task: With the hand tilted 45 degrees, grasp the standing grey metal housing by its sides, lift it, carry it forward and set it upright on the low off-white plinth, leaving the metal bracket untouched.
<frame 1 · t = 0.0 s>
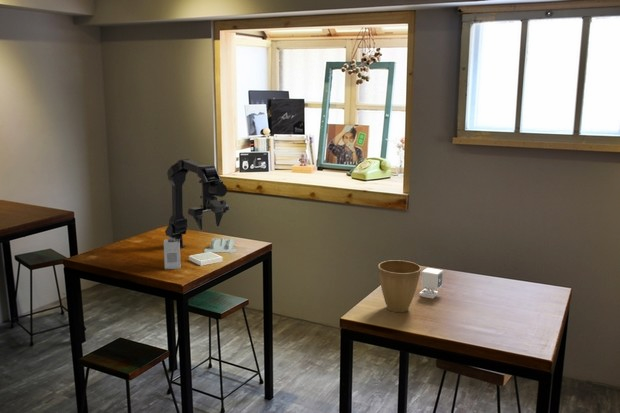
hand: (209, 227, 277), 15 cm above the table, tool pointing down, fingers open, 9 cm apart
housing: (172, 267, 268), on the table
plinth: (205, 260, 277), on the table
security camera: (430, 296, 233), on the table
metal bracket: (221, 250, 296), on the table
plant pot: (398, 309, 220), on the table
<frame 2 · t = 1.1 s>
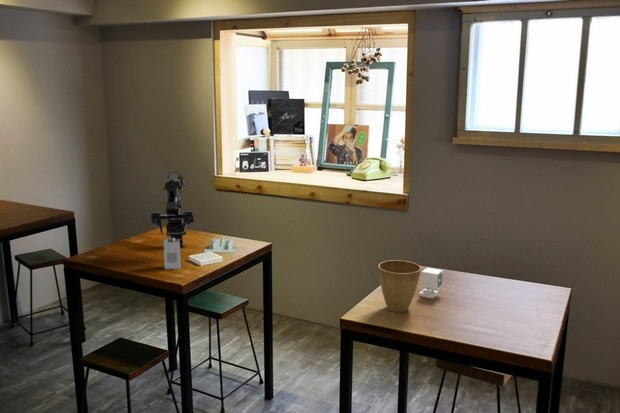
hand: (172, 233, 272), 13 cm above the table, tool tilted 45°, fingers open, 9 cm apart
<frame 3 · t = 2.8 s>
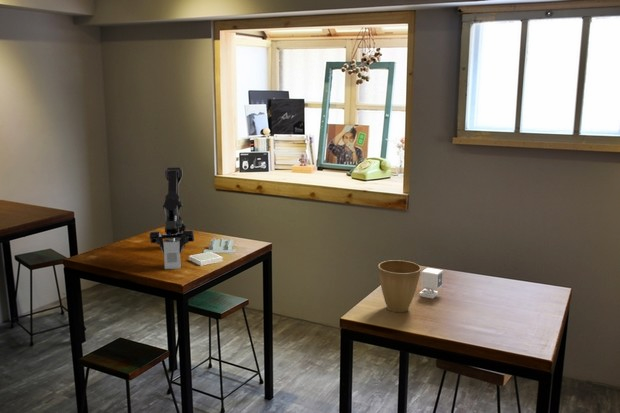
hand: (172, 253, 265), 7 cm above the table, tool tilted 45°, fingers closed on housing, 6 cm apart
housing: (172, 267, 267), on the table, touching gripper
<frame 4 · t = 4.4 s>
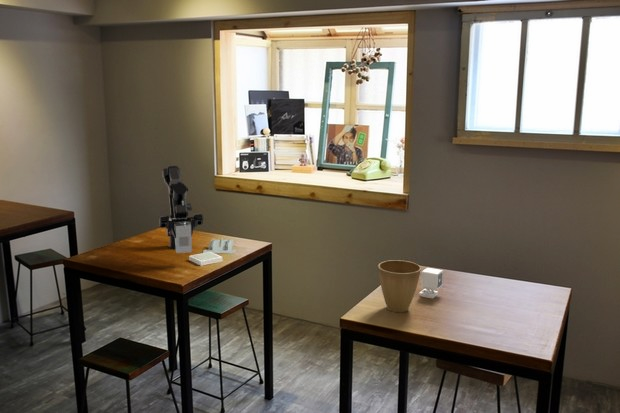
hand: (183, 237, 266), 13 cm above the table, tool tilted 45°, fingers closed on housing, 6 cm apart
housing: (183, 250, 269), point 7 cm above the table, touching gripper
when the fingers open (10 cm above the table, at t = 6.2 s): housing drops 1 cm, resting on plinth.
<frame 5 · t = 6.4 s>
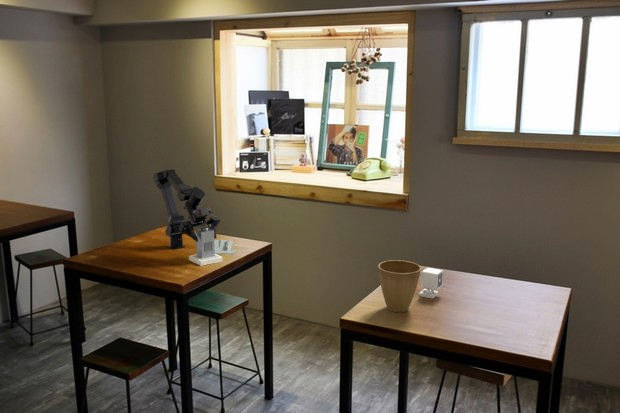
hand: (206, 239, 274), 10 cm above the table, tool tilted 45°, fingers open, 9 cm apart
housing: (205, 256, 277), point 2 cm above the table, touching plinth
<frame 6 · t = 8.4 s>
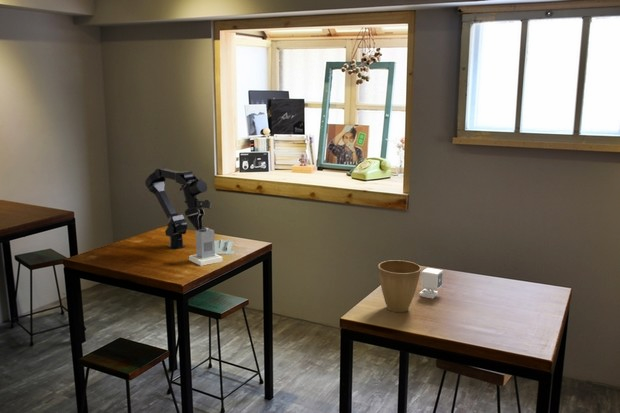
hand: (199, 229, 285), 12 cm above the table, tool tilted 20°, fingers open, 9 cm apart
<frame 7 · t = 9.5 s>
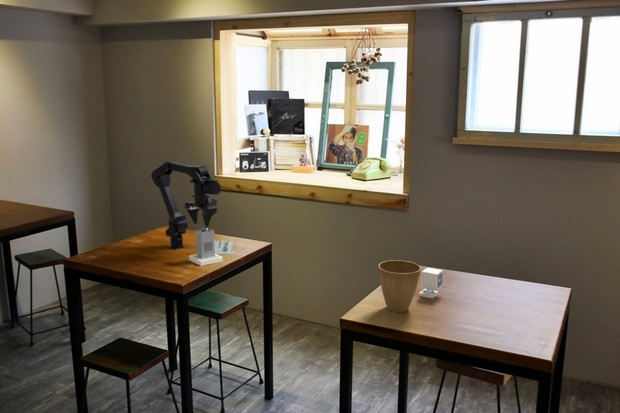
hand: (201, 225, 288), 13 cm above the table, tool pointing down, fingers open, 9 cm apart
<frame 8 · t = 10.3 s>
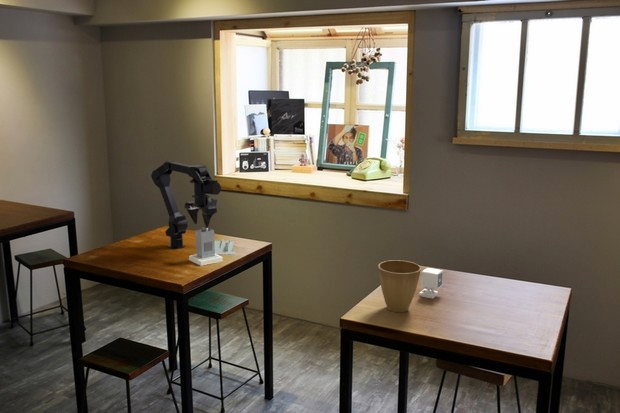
hand: (201, 225, 288), 13 cm above the table, tool pointing down, fingers open, 9 cm apart
at the end: housing inside the target area on the plinth (0.0 cm from its centre), point 2.1 cm above the plinth's base; housing tilted 0°; the gripper is holding nothing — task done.
